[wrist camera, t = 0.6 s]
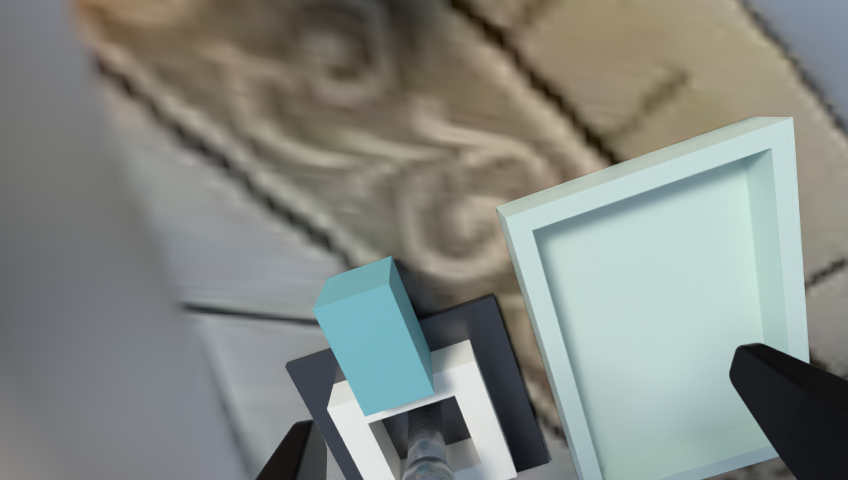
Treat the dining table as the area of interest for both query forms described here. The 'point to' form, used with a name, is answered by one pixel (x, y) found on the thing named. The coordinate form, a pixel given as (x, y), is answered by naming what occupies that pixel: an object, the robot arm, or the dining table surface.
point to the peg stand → (442, 420)
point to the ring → (401, 377)
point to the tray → (664, 298)
